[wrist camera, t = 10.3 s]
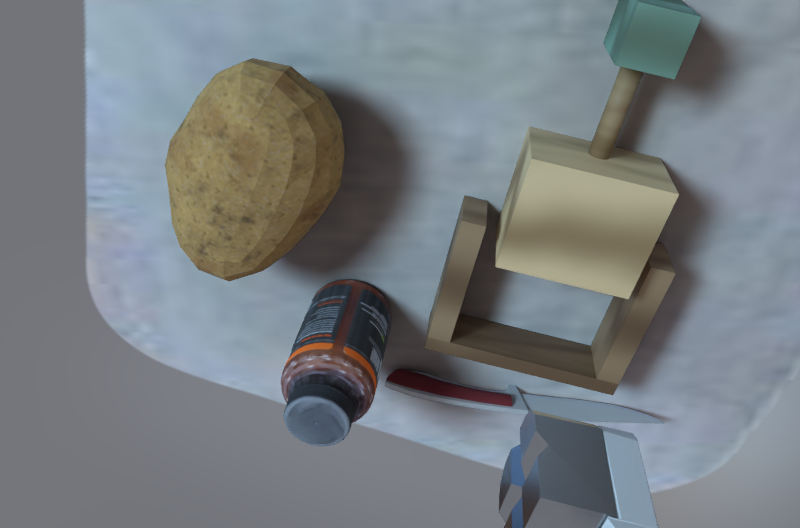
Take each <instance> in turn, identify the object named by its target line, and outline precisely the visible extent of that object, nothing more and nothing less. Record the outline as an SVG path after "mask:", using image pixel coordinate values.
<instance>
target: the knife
mask: <svg viewBox="0 0 800 528" xmlns="http://www.w3.org/2000/svg"><path fill="white" fill-rule="evenodd" d="M385 386H386V387H388V388H390V389H393V390H395V391H398V392H401V393H404V394H407V395H410V396H414V397H418V398H422V399H426V400H430V401H435V402H440V403H446V404H452V405H457V406H463V407H470V408H476V409H483V410H491V411H498V412H506V413H515V414H523V415H527V414H528V412H529V411H530V410H534V411H538V412H543V413H547V414H551V415H555V416H559V417H563V418H567V419H572V420H576V421H583V422H629V423H664V422H662V421H660V420H658V419H657V418H654V417H652V416H650V415H647V414H644V413H641V412H638V411H635V410H632V409H628V408H624V407H621V406H616V405H611V404H605V403H598V402H592V401H584V400H577V399H569V398H556V397H547V396H538V395H530V394H522V393H519V391H518V389H517V387H516V386H515V385H509V386H508V388H507V390H506V391H492V390H485V389H479V388H475V387H470V386H466V385H462V384H458V383H454V382H451V381H447V380H444V379H441V378H438V377H435V376H432V375H430V374H427V373H423V372H416V371H410V370H406V369H397V370H395V371H394V372H392V373H391V374H390V375H389V376H388V377H387V379H386V381H385Z"/></svg>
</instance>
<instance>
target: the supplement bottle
mask: <svg viewBox="0 0 800 528" xmlns="http://www.w3.org/2000/svg"><path fill="white" fill-rule="evenodd" d="M390 324H391V311H390V307H389V305H388V303H387V301H386V299H385V298H384V297H383V295H382V294H381V293H380V292H379V291H378V290H376V289H375V288H374V287H372V286H370V285H368V284H366V283H363V282H360V281H356V280H350V279H347V280H337V281H334V282H331V283H328V284H326V285H325V286H323V287H322V288H321V289H320V290H319V291H318V292H317V293H316V295H315V296H314V298H313V300H312V302H311V304H310V306H309V309H308V311H307V314H306V316H305V318H304V321H303V323H302V326H301V328H300V331H299V333H298V335H297V338H296V340H295V343H294V345H293V347H292V350H291V352H290V355H289V357H288V360H287V362H286V365H285V367H284V370H283V373H282V378H281V389H282V394H283V396H284V399H285V401H286V403H287V405H286V408H285V411H284V421H285V424H286V427H287V428H288V430H289V431H290V432H291V433H292V434H293V435H294V436H295V437H296V438H298V439H299V440H301V441H303V442H305V443H308V444H311V445H317V446H330V445H334V444H336V443H338V442H340V441H342V440H344V438H345V437H346V436H347V435H348V433H349V430H350V427H351V423H353V422H355V421H357V420H358V419H360V418H361V417H362V416H363V415H364V414H366V413H367V411H368V410H369V408H370V406H371V404H372V402H373V399H374V395H375V391H376V388H377V383H378V378H379V374H380V370H381V365H382V361H383V356H384V352H385V348H386V344H387V339H388V335H389V330H390Z"/></svg>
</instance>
